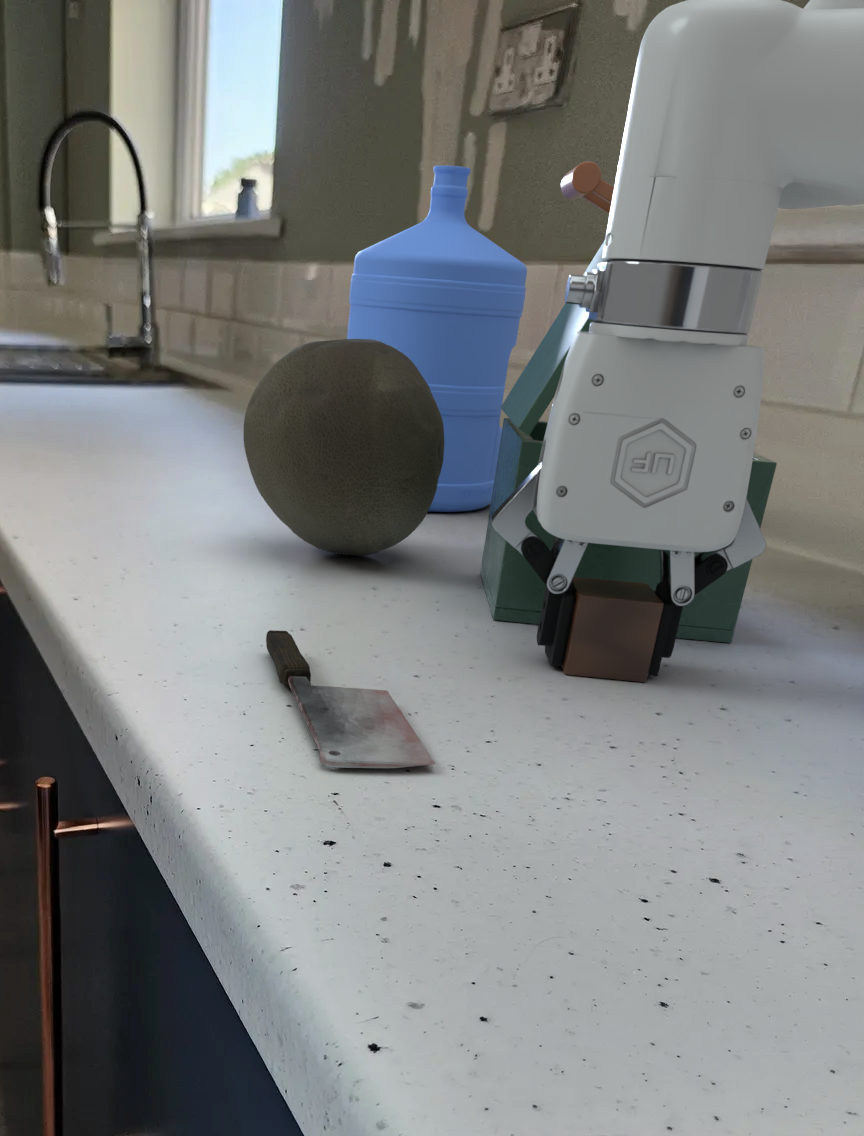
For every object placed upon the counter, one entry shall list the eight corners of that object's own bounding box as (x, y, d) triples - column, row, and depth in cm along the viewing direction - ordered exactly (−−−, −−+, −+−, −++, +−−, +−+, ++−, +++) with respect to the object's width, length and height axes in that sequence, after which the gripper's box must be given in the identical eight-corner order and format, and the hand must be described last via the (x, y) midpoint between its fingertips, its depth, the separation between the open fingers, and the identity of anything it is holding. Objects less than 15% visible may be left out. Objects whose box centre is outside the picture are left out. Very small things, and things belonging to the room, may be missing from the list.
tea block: (631, 658, 65) (647, 583, 63) (646, 682, 61) (664, 603, 59) (554, 650, 65) (568, 575, 63) (564, 674, 61) (579, 595, 59)
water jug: (421, 520, 99) (468, 155, 87) (297, 488, 109) (324, 157, 97) (525, 506, 109) (580, 177, 97) (403, 479, 119) (439, 177, 107)
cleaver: (439, 754, 47) (322, 753, 46) (435, 777, 47) (319, 776, 47) (354, 629, 61) (263, 627, 60) (351, 648, 62) (261, 646, 61)
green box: (684, 592, 81) (721, 436, 76) (731, 643, 69) (777, 462, 65) (480, 573, 82) (503, 417, 77) (493, 620, 70) (521, 440, 66)
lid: (650, 190, 71) (578, 142, 70) (699, 171, 59) (613, 114, 58) (509, 414, 77) (442, 372, 76) (528, 436, 65) (450, 387, 65)
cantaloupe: (345, 528, 93) (365, 332, 86) (469, 568, 83) (501, 350, 76) (203, 540, 85) (213, 326, 79) (320, 586, 75) (343, 344, 69)
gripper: (505, 295, 52) (450, 669, 60) (878, 324, 51) (773, 702, 59) (493, 294, 59) (445, 630, 67) (822, 319, 58) (735, 659, 66)
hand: (600, 660), depth 63 cm, fingers closed on tea block, 4 cm apart
